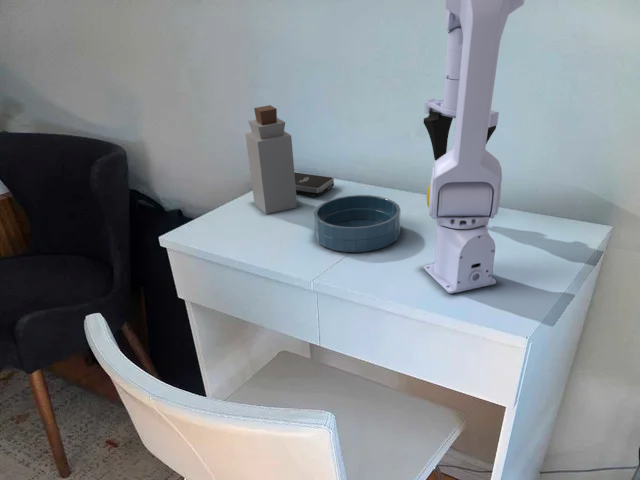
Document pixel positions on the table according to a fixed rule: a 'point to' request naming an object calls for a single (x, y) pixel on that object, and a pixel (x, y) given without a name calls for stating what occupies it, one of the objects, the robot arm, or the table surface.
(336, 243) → the bowl
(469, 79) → the robot arm
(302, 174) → the external hard drive
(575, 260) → the table surface
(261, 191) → the perfume bottle
